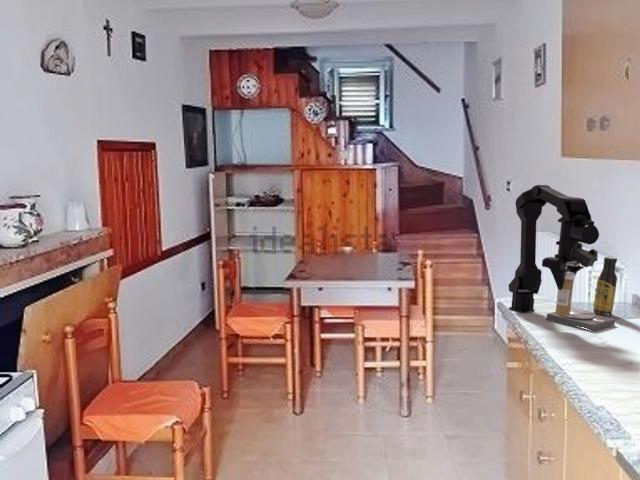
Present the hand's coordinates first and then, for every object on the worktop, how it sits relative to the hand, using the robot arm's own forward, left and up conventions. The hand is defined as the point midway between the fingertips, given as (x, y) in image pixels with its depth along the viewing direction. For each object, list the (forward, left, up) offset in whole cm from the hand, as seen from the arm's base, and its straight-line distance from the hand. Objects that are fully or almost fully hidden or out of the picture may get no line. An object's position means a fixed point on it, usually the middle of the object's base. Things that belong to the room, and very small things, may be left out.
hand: (563, 288), depth 217 cm
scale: (-1, +14, -13) cm, 19 cm away
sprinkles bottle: (0, 0, -8) cm, 8 cm away
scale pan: (-3, +14, -11) cm, 18 cm away
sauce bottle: (-3, +33, -13) cm, 35 cm away
